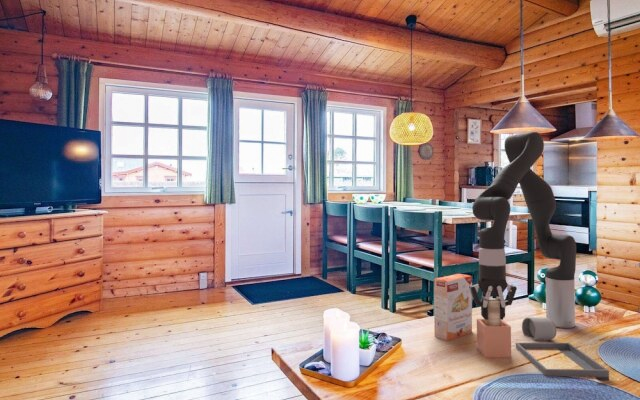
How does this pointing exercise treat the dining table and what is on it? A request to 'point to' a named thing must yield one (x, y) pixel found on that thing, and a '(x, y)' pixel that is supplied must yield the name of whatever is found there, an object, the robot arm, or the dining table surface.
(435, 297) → the cracker box
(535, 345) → the rectangular frame
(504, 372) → the dining table surface
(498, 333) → the pink square planter
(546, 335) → the ceramic mug
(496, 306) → the dowel
